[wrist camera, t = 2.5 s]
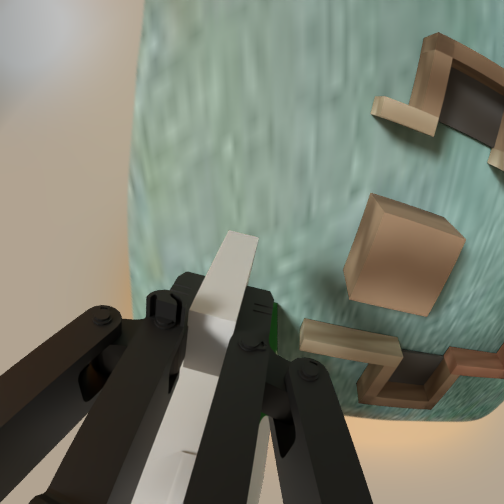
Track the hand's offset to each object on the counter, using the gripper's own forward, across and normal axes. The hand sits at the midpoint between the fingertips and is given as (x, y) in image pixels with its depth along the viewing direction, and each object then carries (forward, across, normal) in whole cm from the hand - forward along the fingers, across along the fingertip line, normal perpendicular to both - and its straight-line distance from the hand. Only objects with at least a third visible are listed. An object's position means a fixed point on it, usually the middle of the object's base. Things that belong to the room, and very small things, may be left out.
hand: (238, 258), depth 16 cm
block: (+7, +10, 0) cm, 12 cm away
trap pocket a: (+6, +12, +12) cm, 18 cm away
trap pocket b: (+7, +17, -11) cm, 22 cm away
